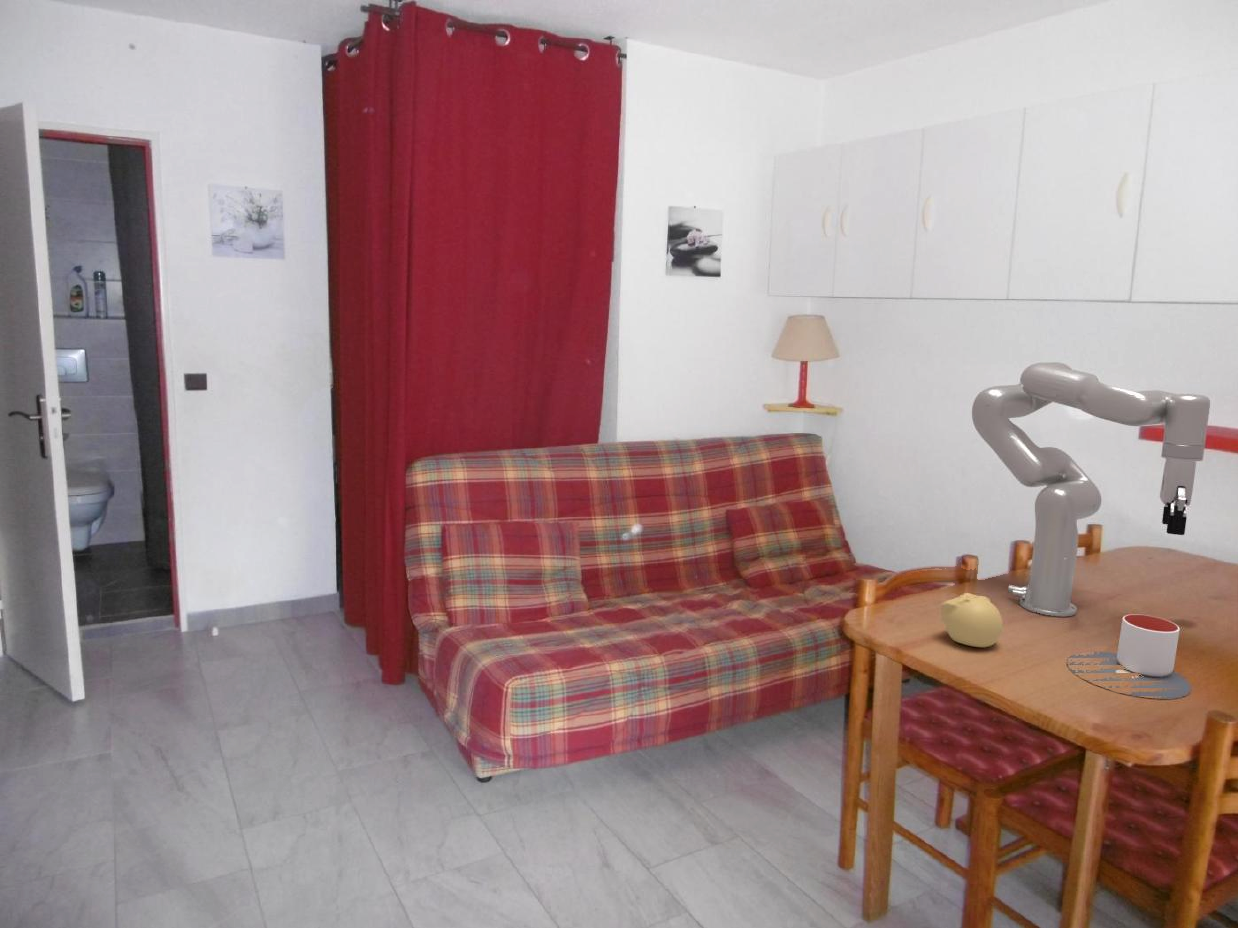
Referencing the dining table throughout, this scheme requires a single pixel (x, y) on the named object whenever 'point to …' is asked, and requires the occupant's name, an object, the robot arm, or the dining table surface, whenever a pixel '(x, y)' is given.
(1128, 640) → the cup
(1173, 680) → the mat
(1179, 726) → the dining table surface
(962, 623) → the sculpture
